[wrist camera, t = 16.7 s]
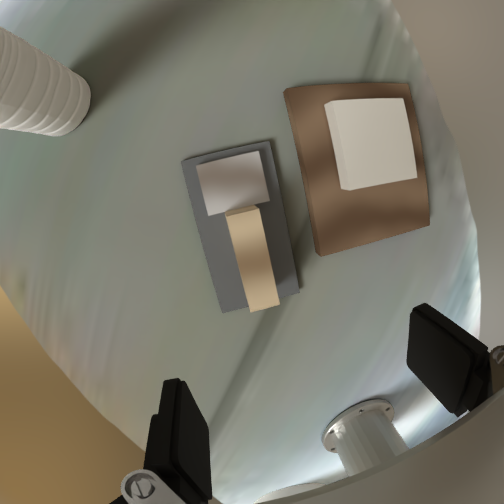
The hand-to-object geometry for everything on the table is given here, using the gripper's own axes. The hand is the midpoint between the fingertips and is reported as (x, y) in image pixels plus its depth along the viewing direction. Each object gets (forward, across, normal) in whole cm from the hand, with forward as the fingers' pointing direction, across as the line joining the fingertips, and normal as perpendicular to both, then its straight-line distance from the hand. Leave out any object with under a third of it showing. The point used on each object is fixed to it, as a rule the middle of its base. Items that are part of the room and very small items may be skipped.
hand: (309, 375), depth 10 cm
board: (+18, -13, -6) cm, 24 cm away
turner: (+18, 0, -2) cm, 18 cm away
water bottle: (+18, +16, -19) cm, 31 cm away
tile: (+16, -13, -4) cm, 21 cm away
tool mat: (+18, 0, -2) cm, 18 cm away
